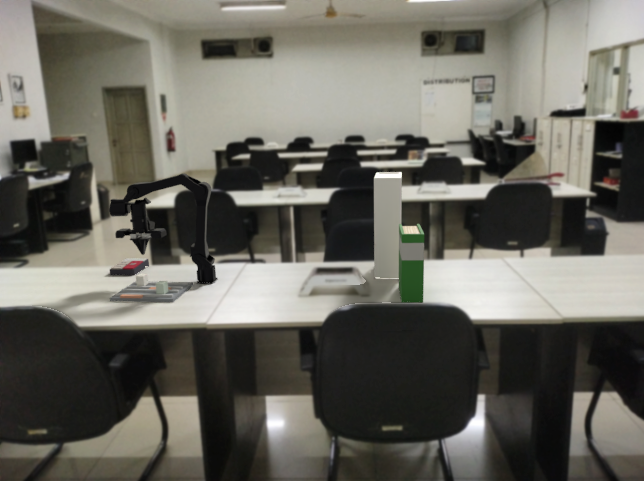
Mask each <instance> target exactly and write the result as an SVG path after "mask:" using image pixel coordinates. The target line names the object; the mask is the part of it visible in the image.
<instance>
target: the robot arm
mask: <svg viewBox="0 0 644 481" xmlns="http://www.w3.org/2000/svg"><path fill="white" fill-rule="evenodd" d="M180 185H181V186H183V187H184V188H186V189H187V190H188V191H190V192H192V193H193V198H194V202H195V206H196V213H195V214H196V215H195V219H196V220H195V221H196V222H195V242H194V243H192V245H190V248H189V249H190V255H189V258H191V261H192V262H193V263H194V264H195V265H196V267H197V270H196V280H197V281H196V284H214V283H215V282H216V281H217V280H218V277H217V274H216V265H215V260H216V259H215V257H214V256H212V254H210V252H209V251H210V250H209V246H208V242H207V228H208V227H207V224H208V223H207V222H208V206H209V202H210V198H211V194H212V186H211V185H210V183H208V182H207V181H206V182H205V181H201V180H199V179H196V178H194V177H192V176H190V175H189V174H187V173H185V172H183V173H180V174H177V175H174V176H170V177H166V178H161V179H158V180H154V181H142V182H134V183H132V184H130V185H128V187H127V189H126V194H125V196H124V197H123V198H119V199H118V198H111V199H109V200H110V203H109V208H108V211H109V215H110V216H111V217H112V218H114V217H127V216H129V214H130V215H131V219H130V223H131V224H132V229H131V228H120V229H118V230H116V231H115V234H114V235H115V238H116V239H123V238H125V236H128V237H129V236H130V238H129V240H130V241H132V243H133V244H134V245H135V247H137V249H138V251H139V253H140V254H141V255H142V256H144V255H145V253H146V251H147V247H148V244H149V241H150V240H151V239H152V238H153V239H162V238H164V237H165V236H167V234H168V233H167V230H166V228H155V224H156V223H155V221H153V220H150V218H149V216H148V214H147V213H148V212H147V205H149V204H152V201H151V200H150V199H148V197H146V195H147V196H148V195H149V194H151V193H153V192H158V191H160V190H165V189H168V188H172V187H176V186H180ZM140 198H143V199H140ZM133 200H134V202H133ZM131 201H132V202H131Z"/></svg>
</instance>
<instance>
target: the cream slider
mask: <svg viewBox="0 0 644 481" xmlns="http://www.w3.org/2000/svg"><path fill="white" fill-rule="evenodd" d="M135 281H136V283H137V286H146V285H147V284H148V282H149V275H148V273H138V275H137V274H136V275H135Z"/></svg>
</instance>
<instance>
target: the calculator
mask: <svg viewBox="0 0 644 481" xmlns="http://www.w3.org/2000/svg"><path fill="white" fill-rule="evenodd" d="M145 266H148V267H149V266H150V262H149V258H142V257H139V258H137V257H136V258H135V257H134V258H133V257H132V258H131V257H130V258H129V257H127V258H124V259H123V260H121V261H119V262H118V263H116V264H114V265H113V266H111V267H110V268H109V275H110V276H136V275H137V273H138V272H139V273H141V272H142V271H143V270H145V269H146V268H145ZM141 270H142V271H141ZM140 271H141V272H140ZM139 273H138V274H139ZM135 274H136V275H135Z"/></svg>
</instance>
